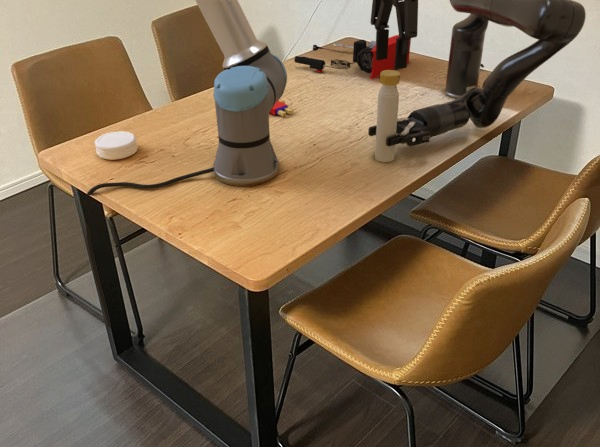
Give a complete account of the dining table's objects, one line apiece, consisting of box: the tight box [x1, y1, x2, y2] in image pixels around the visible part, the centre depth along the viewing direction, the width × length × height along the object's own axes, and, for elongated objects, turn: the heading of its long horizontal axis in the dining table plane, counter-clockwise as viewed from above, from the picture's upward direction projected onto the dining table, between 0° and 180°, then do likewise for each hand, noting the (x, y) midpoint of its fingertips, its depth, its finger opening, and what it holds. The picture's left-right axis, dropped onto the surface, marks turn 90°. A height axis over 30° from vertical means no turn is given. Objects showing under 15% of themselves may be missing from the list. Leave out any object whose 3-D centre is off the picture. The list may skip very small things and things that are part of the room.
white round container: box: [94, 130, 139, 161], centre depth 154 cm, size 10×10×4 cm
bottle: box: [374, 84, 400, 163], centre depth 145 cm, size 5×5×21 cm
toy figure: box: [269, 99, 294, 117], centre depth 177 cm, size 2×7×12 cm
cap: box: [379, 69, 401, 86], centre depth 140 cm, size 4×4×2 cm
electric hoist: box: [293, 34, 412, 80], centre depth 208 cm, size 10×27×30 cm
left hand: (390, 63), depth 138 cm, fingers open, 7 cm apart
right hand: (378, 136), depth 147 cm, fingers open, 6 cm apart
